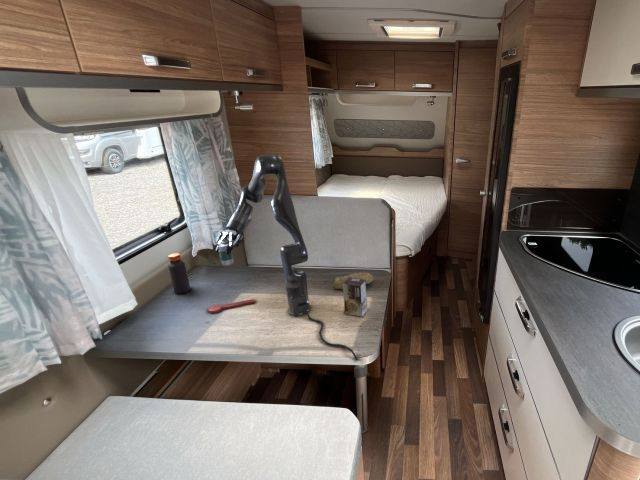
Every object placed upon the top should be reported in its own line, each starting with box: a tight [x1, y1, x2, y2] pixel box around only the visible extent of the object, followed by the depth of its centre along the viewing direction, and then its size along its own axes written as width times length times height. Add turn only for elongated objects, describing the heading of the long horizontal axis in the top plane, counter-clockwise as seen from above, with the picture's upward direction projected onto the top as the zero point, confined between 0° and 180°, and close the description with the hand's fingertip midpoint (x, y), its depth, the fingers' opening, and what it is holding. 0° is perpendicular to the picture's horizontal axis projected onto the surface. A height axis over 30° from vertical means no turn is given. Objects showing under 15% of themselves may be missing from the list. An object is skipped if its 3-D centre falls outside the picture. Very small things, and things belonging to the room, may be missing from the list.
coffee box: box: [342, 277, 368, 317], centre depth 155 cm, size 9×6×16 cm
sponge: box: [333, 271, 374, 290], centre depth 179 cm, size 13×8×20 cm
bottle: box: [167, 252, 191, 295], centre depth 169 cm, size 7×7×20 cm
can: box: [217, 241, 235, 266], centre depth 163 cm, size 6×6×10 cm
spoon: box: [207, 298, 255, 314], centre depth 159 cm, size 6×20×1 cm, turn 115°
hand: (222, 252), depth 161 cm, fingers closed on can, 5 cm apart
